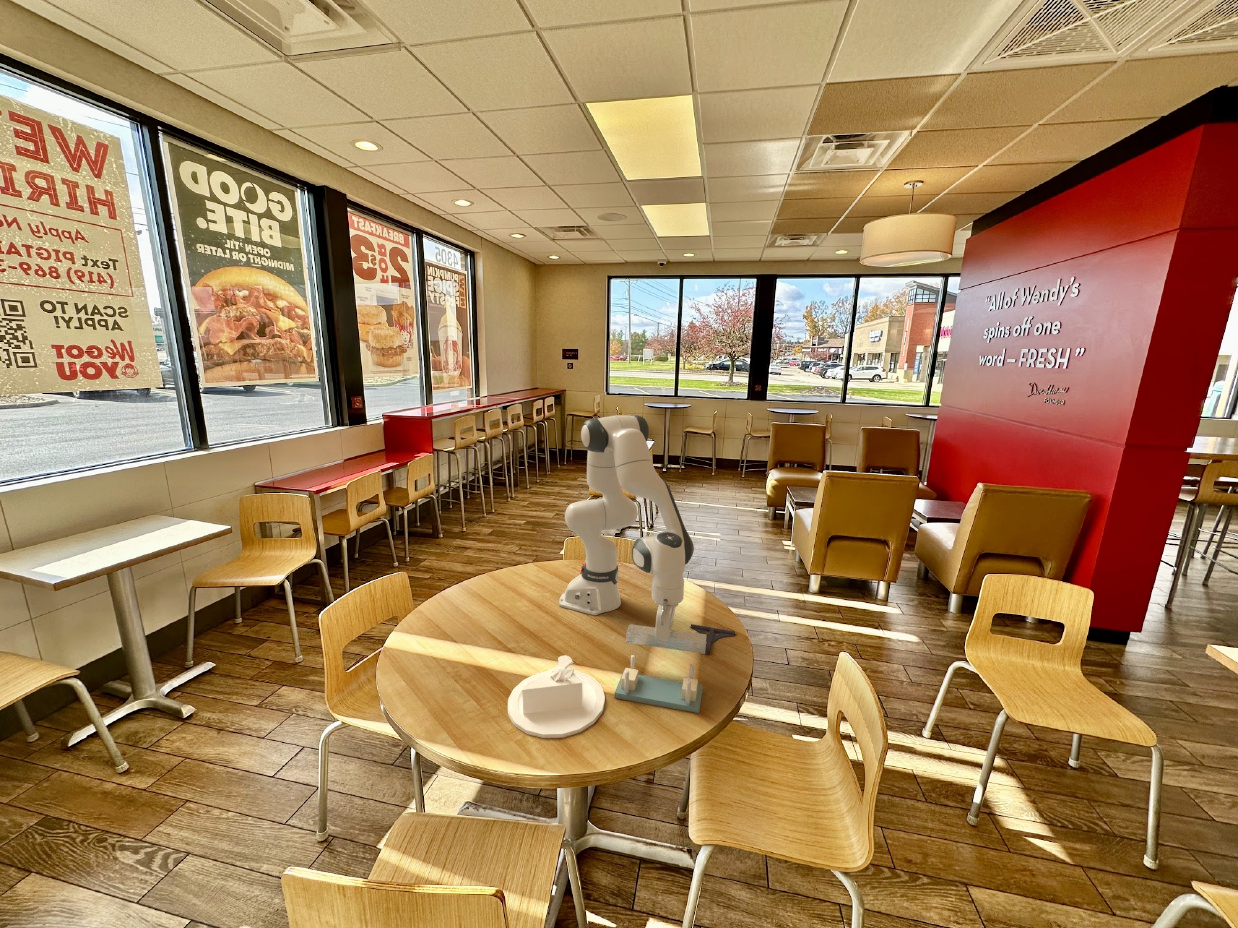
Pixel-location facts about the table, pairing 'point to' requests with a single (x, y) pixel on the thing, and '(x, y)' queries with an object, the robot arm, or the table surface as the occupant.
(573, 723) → the dish
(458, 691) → the table surface
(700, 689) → the rack
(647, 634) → the long grey flat plank
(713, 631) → the bracket
